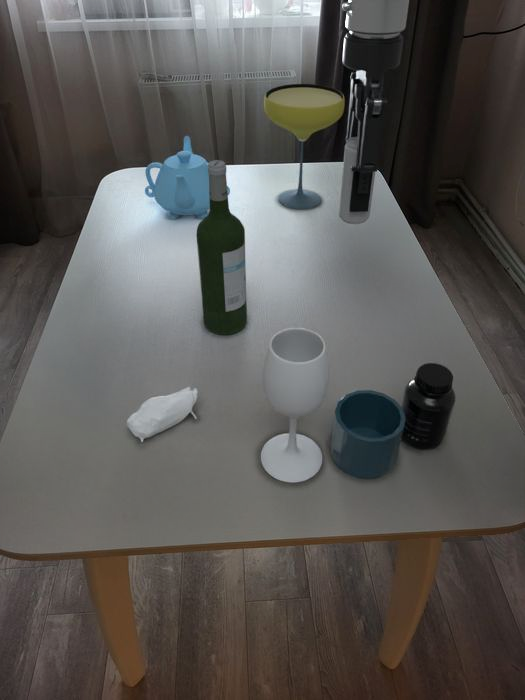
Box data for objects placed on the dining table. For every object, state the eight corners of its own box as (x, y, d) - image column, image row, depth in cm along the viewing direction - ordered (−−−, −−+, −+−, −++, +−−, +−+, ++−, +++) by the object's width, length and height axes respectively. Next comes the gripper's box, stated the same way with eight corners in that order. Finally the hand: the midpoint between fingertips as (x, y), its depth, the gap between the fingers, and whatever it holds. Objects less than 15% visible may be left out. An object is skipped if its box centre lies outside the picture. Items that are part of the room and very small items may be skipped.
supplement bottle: (407, 409, 86) (422, 350, 78) (450, 429, 83) (469, 369, 75) (388, 437, 81) (401, 378, 74) (432, 459, 78) (451, 399, 71)
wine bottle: (217, 305, 106) (207, 149, 87) (254, 316, 104) (252, 158, 84) (196, 328, 101) (179, 168, 81) (234, 340, 98) (227, 178, 79)
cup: (408, 450, 80) (418, 412, 74) (371, 490, 74) (380, 453, 69) (355, 418, 84) (361, 380, 79) (317, 454, 79) (321, 416, 74)
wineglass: (329, 478, 76) (343, 365, 62) (266, 487, 75) (267, 373, 61) (314, 430, 82) (324, 318, 69) (256, 438, 81) (255, 325, 68)
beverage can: (375, 220, 87) (386, 143, 80) (352, 228, 85) (360, 150, 78) (355, 208, 90) (363, 133, 83) (332, 216, 88) (338, 140, 81)
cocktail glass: (282, 222, 131) (285, 112, 115) (252, 191, 144) (251, 89, 127) (349, 208, 137) (360, 101, 120) (314, 179, 149) (320, 79, 133)
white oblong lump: (178, 405, 88) (120, 423, 82) (188, 376, 84) (127, 392, 78) (194, 428, 86) (135, 448, 80) (204, 399, 81) (143, 418, 75)
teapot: (183, 234, 127) (177, 175, 118) (138, 204, 138) (129, 148, 129) (238, 212, 135) (237, 155, 126) (191, 186, 146) (187, 132, 137)
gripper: (335, 19, 78) (324, 179, 93) (356, 49, 64) (339, 231, 79) (388, 18, 78) (368, 178, 93) (421, 48, 64) (392, 229, 79)
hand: (355, 202), depth 86 cm, fingers closed on beverage can, 5 cm apart
